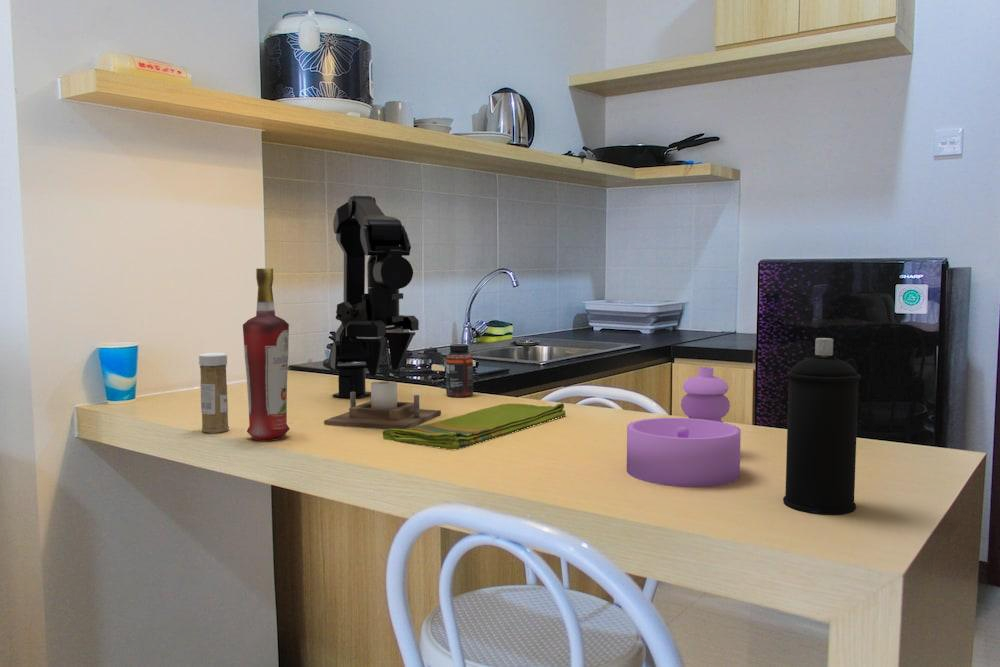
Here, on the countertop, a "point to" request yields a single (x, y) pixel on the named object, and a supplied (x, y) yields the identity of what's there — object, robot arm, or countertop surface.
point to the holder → (383, 415)
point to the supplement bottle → (459, 371)
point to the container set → (688, 440)
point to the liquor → (266, 365)
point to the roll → (384, 395)
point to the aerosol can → (821, 433)
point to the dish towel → (476, 425)
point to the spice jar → (213, 392)
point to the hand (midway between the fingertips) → (384, 372)
